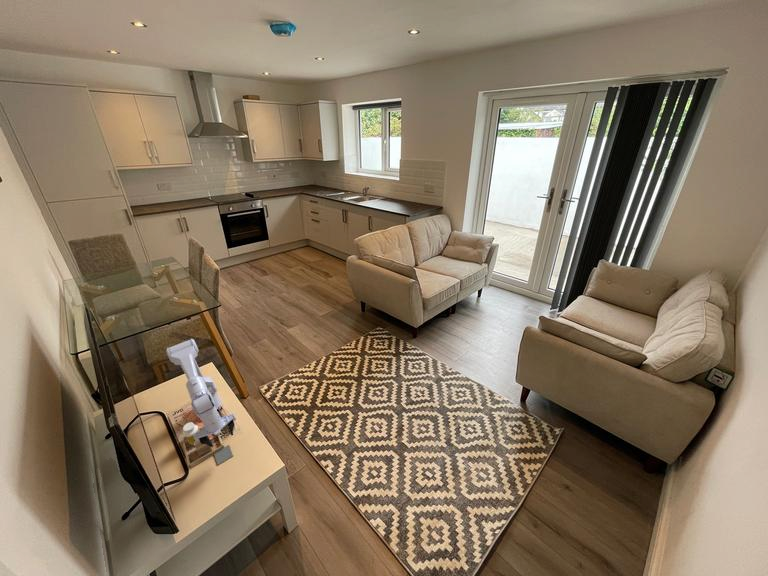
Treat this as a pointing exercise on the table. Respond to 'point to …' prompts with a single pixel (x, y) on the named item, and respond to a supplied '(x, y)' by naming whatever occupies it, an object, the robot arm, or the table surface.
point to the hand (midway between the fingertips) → (221, 439)
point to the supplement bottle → (190, 432)
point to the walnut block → (202, 448)
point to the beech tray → (204, 455)
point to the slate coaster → (223, 454)
